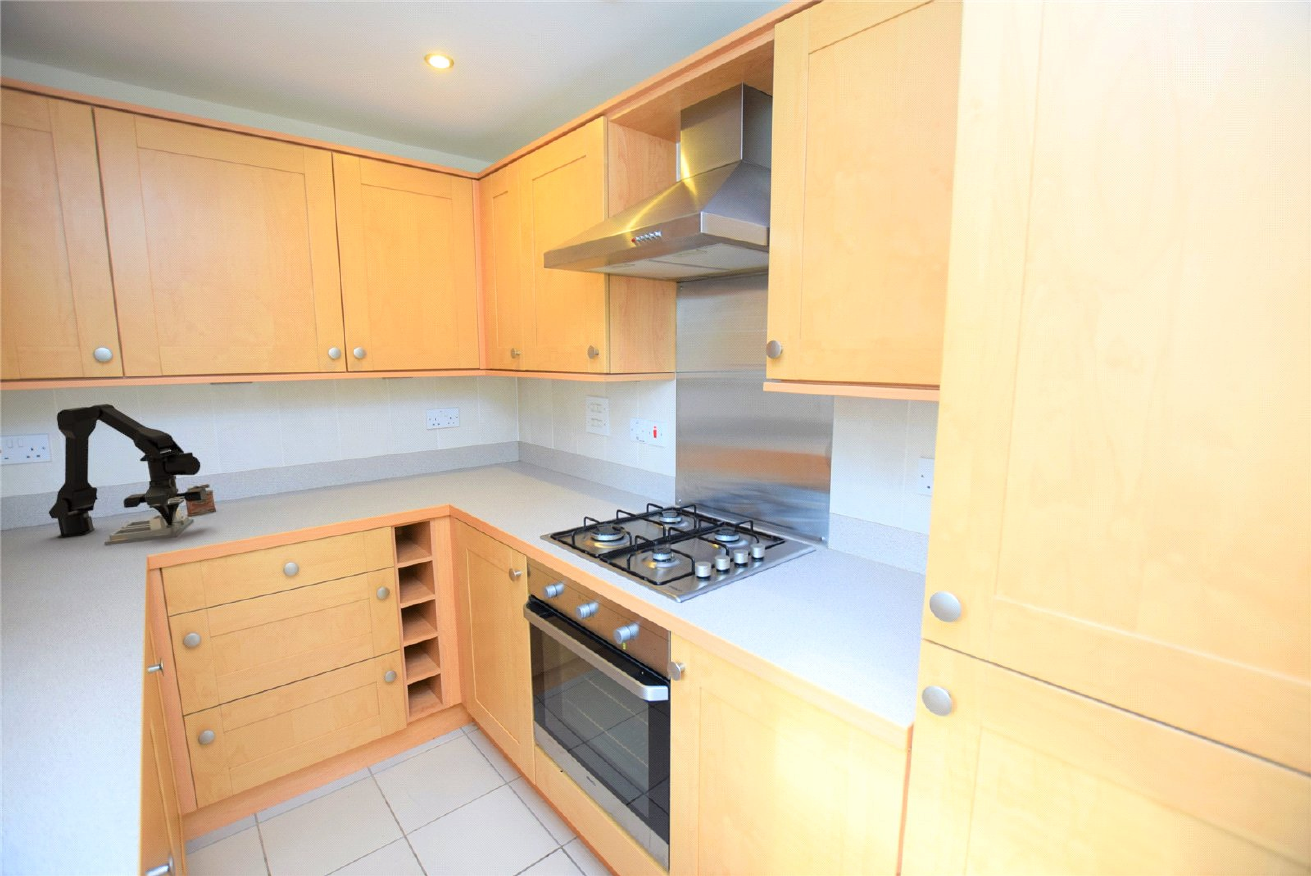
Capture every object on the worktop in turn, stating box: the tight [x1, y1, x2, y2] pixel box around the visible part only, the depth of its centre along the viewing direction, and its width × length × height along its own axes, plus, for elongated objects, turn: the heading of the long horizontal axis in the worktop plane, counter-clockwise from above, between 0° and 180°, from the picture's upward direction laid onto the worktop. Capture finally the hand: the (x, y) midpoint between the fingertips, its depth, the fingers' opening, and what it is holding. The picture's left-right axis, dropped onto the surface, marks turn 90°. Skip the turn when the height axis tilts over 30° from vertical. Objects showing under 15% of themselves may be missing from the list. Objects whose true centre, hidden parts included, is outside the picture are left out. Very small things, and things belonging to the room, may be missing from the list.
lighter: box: [184, 483, 217, 518], centre depth 200 cm, size 8×3×10 cm, turn 143°
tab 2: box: [174, 507, 183, 521], centre depth 187 cm, size 2×4×5 cm, turn 22°
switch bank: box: [103, 515, 195, 546], centre depth 182 cm, size 17×16×2 cm
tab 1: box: [148, 514, 167, 530], centre depth 179 cm, size 2×4×5 cm, turn 22°
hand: (170, 524), depth 180 cm, fingers closed
